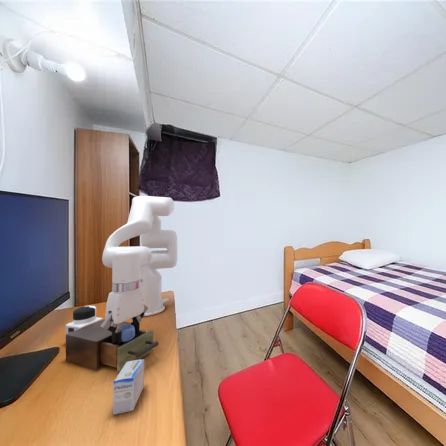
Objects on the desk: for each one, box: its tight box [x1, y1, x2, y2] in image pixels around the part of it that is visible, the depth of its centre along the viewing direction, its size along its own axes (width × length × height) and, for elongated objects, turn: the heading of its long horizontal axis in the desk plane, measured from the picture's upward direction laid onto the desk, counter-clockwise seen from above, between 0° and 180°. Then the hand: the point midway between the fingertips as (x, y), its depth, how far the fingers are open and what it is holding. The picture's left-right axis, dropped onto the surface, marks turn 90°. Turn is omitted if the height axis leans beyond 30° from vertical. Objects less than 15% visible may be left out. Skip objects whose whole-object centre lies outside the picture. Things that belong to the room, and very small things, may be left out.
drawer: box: [99, 329, 160, 373], centre depth 73 cm, size 18×11×7 cm, turn 75°
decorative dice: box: [120, 325, 135, 342], centre depth 73 cm, size 4×4×4 cm
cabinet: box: [65, 318, 131, 371], centre depth 76 cm, size 15×13×9 cm
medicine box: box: [112, 358, 145, 416], centre depth 57 cm, size 8×4×9 cm, turn 20°
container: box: [65, 305, 104, 335], centre depth 84 cm, size 8×8×13 cm
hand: (126, 337), depth 74 cm, fingers closed on decorative dice, 5 cm apart
